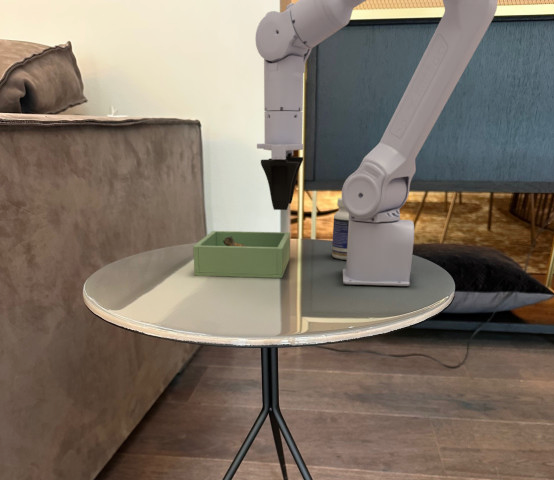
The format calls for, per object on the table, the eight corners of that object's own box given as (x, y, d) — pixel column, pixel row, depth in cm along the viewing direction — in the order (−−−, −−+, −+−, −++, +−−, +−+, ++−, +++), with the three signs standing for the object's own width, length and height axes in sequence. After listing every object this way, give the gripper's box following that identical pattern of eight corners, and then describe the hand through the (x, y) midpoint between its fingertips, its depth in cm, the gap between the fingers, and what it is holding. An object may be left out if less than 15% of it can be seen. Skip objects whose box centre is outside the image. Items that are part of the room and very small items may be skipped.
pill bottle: (356, 262, 89) (360, 201, 85) (326, 258, 92) (328, 199, 88) (369, 256, 94) (373, 198, 90) (340, 252, 96) (343, 196, 92)
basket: (289, 258, 92) (289, 232, 90) (282, 278, 79) (282, 248, 78) (213, 256, 93) (212, 230, 91) (194, 275, 81) (192, 246, 79)
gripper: (263, 113, 85) (263, 200, 91) (249, 109, 72) (251, 212, 77) (306, 113, 84) (304, 201, 90) (300, 109, 71) (298, 213, 77)
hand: (282, 206), depth 84 cm, fingers open, 7 cm apart
